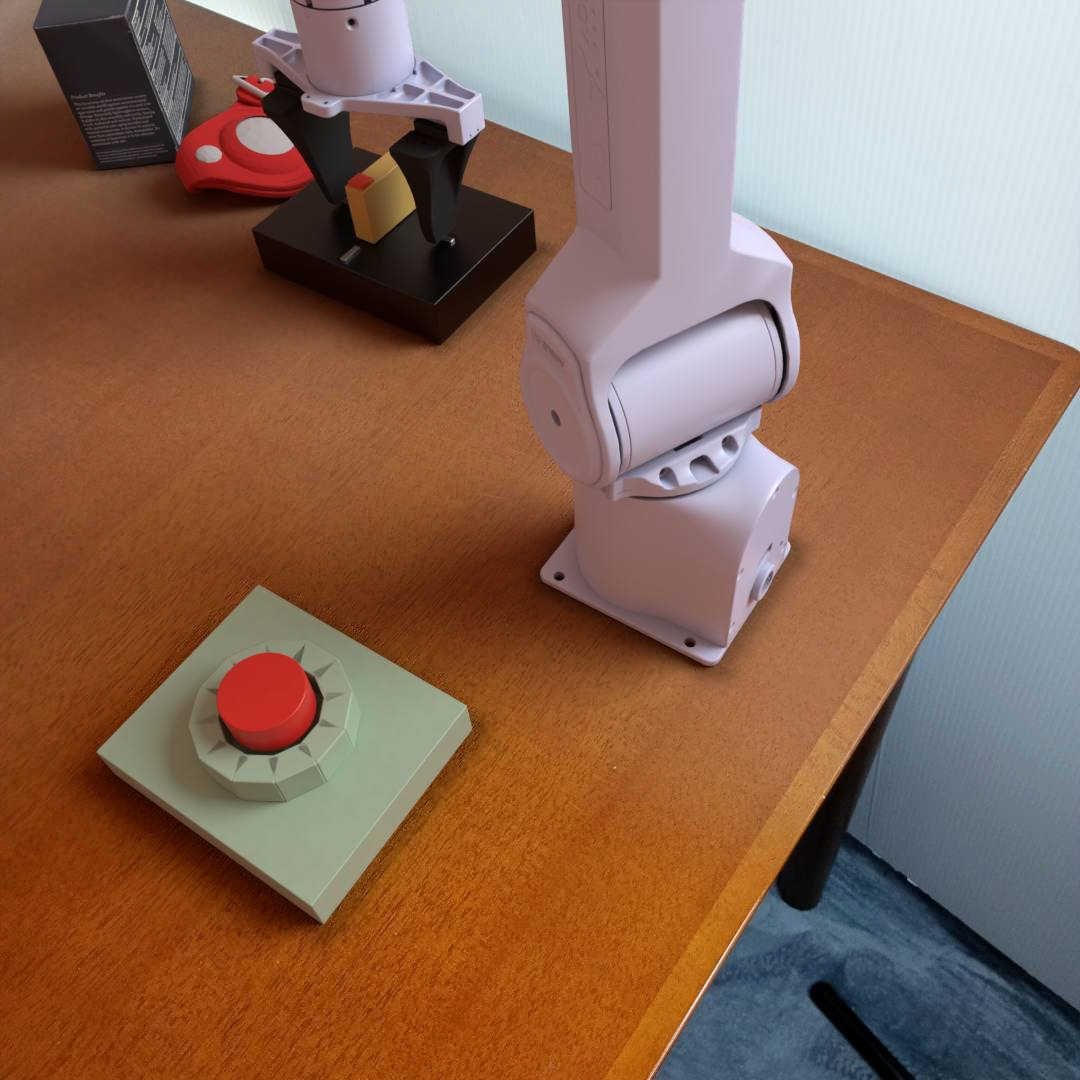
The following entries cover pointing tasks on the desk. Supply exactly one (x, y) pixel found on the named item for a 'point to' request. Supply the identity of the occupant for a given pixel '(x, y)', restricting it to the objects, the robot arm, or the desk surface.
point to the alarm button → (266, 701)
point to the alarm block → (292, 754)
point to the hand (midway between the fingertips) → (390, 214)
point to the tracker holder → (242, 150)
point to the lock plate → (399, 256)
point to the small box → (120, 76)
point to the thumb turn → (379, 199)
